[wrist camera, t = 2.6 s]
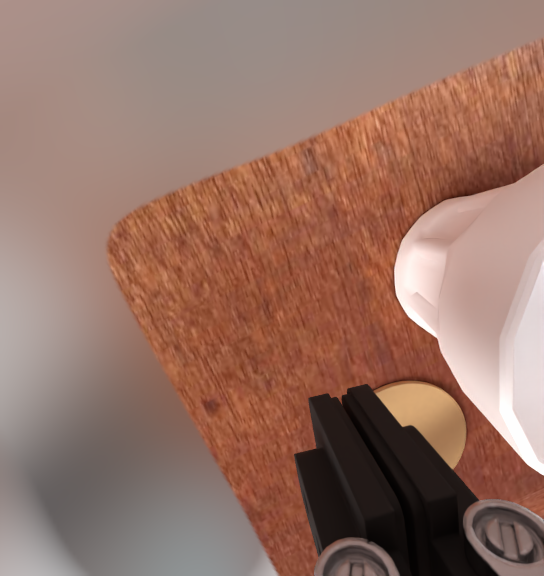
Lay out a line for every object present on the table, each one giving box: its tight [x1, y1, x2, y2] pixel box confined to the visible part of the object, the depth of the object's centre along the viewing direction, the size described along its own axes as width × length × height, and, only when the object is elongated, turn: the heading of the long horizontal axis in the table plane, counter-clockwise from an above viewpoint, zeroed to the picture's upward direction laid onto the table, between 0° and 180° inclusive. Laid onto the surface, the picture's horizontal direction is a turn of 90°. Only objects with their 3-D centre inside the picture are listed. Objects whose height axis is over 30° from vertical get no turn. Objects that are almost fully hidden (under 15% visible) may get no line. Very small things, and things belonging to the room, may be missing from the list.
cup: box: [394, 164, 544, 475], centre depth 16 cm, size 12×12×11 cm
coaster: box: [374, 381, 466, 470], centre depth 24 cm, size 9×9×1 cm
